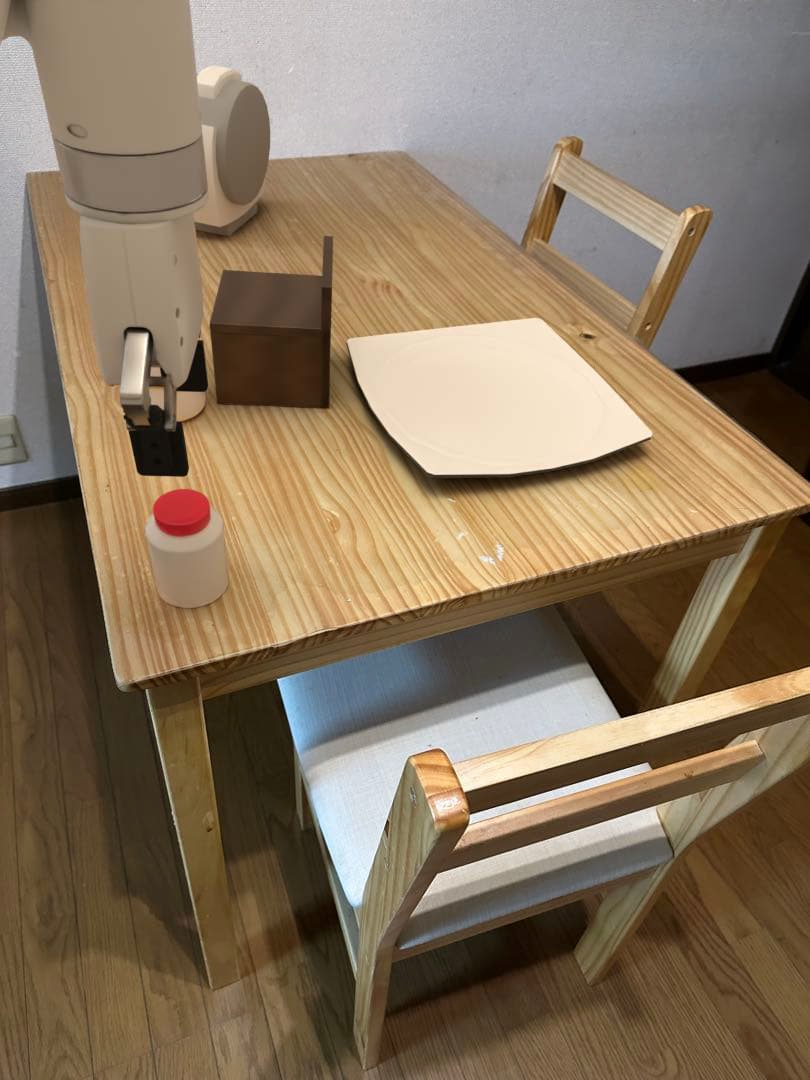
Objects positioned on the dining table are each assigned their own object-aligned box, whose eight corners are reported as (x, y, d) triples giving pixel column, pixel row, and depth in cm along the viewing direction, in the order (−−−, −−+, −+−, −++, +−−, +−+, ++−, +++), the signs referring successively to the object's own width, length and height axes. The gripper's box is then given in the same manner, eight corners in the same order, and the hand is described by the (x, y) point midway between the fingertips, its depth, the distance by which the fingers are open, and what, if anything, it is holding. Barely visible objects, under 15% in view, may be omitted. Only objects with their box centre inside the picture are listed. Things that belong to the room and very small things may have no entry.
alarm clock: (227, 195, 124) (217, 51, 110) (276, 205, 123) (273, 61, 109) (174, 236, 111) (155, 79, 97) (228, 248, 110) (217, 90, 96)
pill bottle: (237, 597, 63) (230, 523, 57) (164, 616, 61) (149, 540, 55) (218, 549, 67) (210, 475, 61) (149, 565, 65) (134, 490, 59)
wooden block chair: (217, 403, 82) (205, 279, 73) (228, 346, 91) (219, 228, 81) (329, 408, 83) (332, 287, 74) (330, 351, 92) (333, 236, 82)
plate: (330, 354, 92) (331, 334, 90) (539, 330, 101) (543, 311, 99) (418, 507, 73) (421, 486, 71) (664, 461, 82) (672, 441, 80)
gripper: (99, 115, 47) (143, 360, 59) (11, 231, 35) (90, 511, 46) (223, 124, 48) (242, 364, 60) (181, 240, 35) (216, 513, 47)
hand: (175, 428), depth 53 cm, fingers open, 9 cm apart
